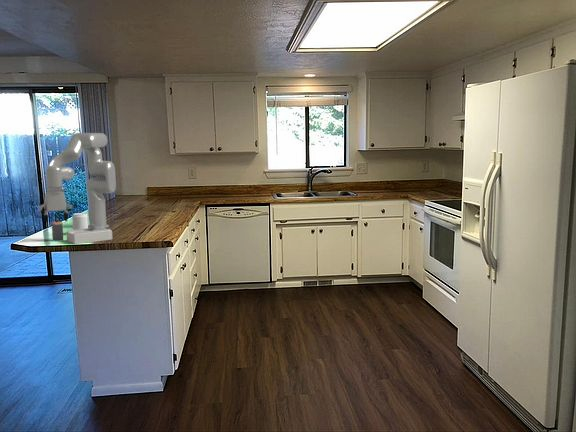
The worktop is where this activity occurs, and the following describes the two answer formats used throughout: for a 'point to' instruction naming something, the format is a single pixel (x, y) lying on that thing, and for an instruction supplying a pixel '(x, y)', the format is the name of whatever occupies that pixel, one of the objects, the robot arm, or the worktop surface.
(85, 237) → the socket block
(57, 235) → the plug
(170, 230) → the worktop surface
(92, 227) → the shutter
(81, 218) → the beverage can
